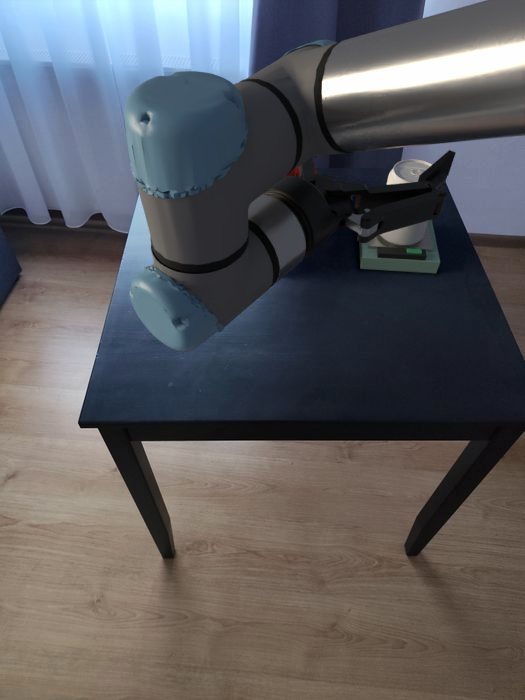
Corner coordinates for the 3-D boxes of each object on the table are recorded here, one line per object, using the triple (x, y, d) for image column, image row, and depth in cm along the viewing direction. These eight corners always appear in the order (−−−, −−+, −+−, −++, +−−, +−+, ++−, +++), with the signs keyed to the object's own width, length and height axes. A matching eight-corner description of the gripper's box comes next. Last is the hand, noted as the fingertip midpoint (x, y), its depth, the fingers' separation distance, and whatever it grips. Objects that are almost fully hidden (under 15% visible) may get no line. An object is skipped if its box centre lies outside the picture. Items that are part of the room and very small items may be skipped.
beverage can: (376, 217, 87) (389, 155, 78) (421, 221, 86) (440, 159, 77) (376, 245, 82) (390, 183, 73) (424, 249, 81) (445, 187, 72)
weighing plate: (432, 252, 82) (433, 249, 81) (368, 248, 83) (368, 245, 82) (425, 217, 88) (426, 214, 88) (365, 213, 89) (366, 211, 88)
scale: (436, 273, 82) (442, 256, 79) (360, 268, 83) (363, 252, 80) (427, 227, 90) (432, 210, 87) (358, 223, 91) (361, 206, 88)
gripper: (191, 212, 53) (306, 139, 63) (384, 319, 43) (485, 211, 53) (181, 148, 47) (310, 78, 57) (403, 255, 37) (513, 147, 47)
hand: (395, 142), depth 55 cm, fingers open, 13 cm apart
